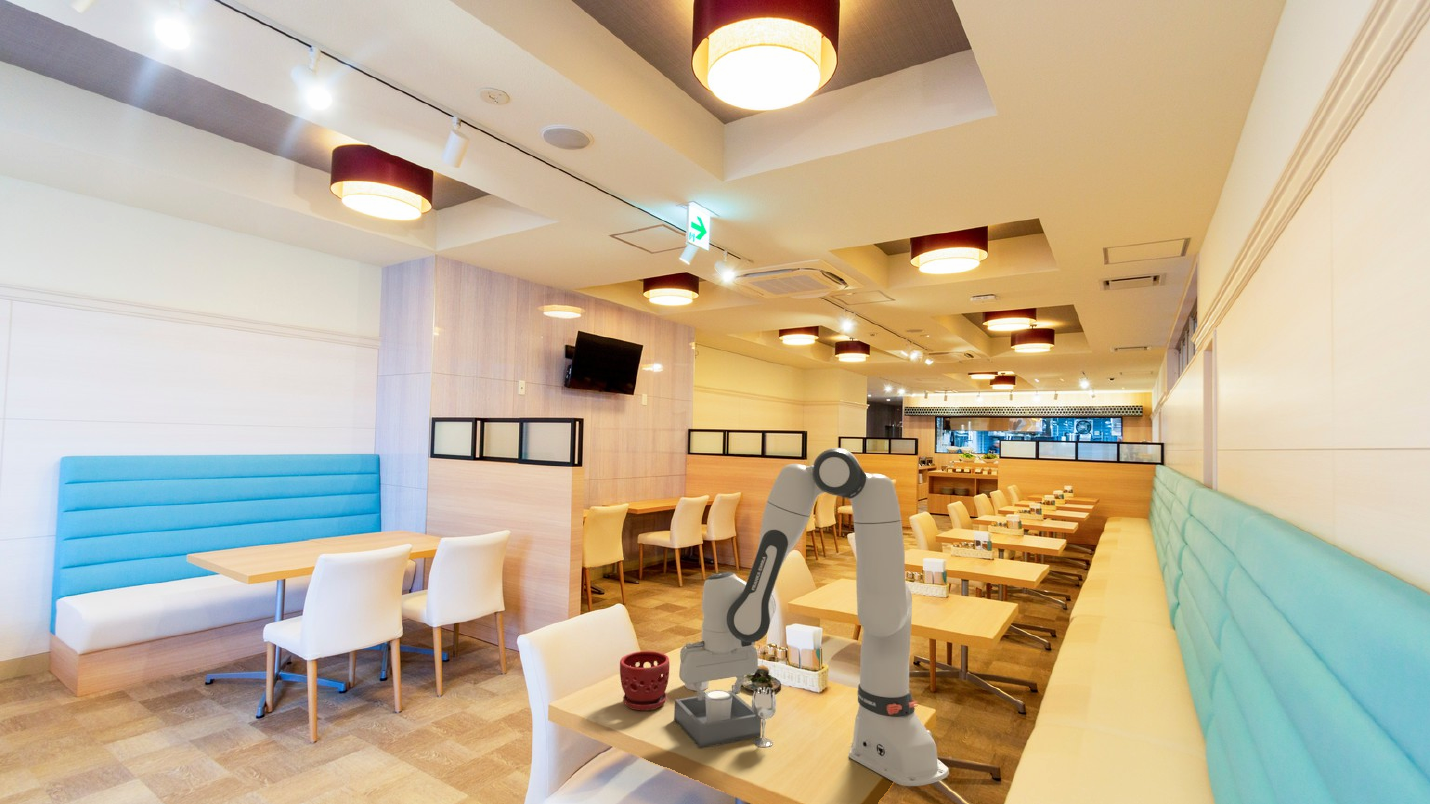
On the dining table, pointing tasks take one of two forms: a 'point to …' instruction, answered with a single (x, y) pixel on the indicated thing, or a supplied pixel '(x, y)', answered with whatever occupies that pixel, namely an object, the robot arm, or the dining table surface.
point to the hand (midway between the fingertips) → (718, 696)
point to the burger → (761, 679)
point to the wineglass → (763, 710)
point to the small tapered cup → (718, 705)
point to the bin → (716, 722)
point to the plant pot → (644, 680)
